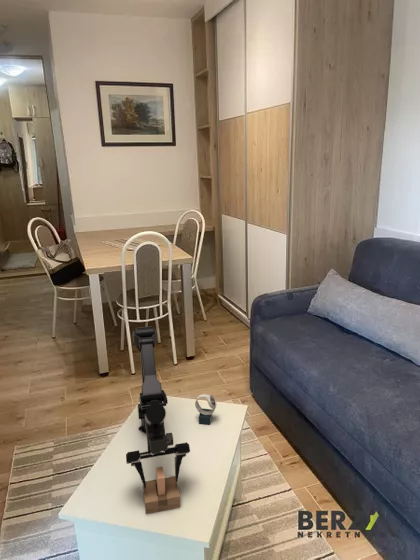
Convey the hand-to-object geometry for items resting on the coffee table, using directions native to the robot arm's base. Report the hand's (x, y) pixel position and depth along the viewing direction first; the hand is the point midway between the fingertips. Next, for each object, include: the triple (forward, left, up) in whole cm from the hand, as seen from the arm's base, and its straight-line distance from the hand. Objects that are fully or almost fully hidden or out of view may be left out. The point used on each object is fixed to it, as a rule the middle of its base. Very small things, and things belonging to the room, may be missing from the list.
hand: (161, 484), depth 118 cm
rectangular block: (-1, +1, -7) cm, 7 cm away
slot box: (-1, +1, -7) cm, 7 cm away
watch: (-12, +39, -7) cm, 41 cm away
